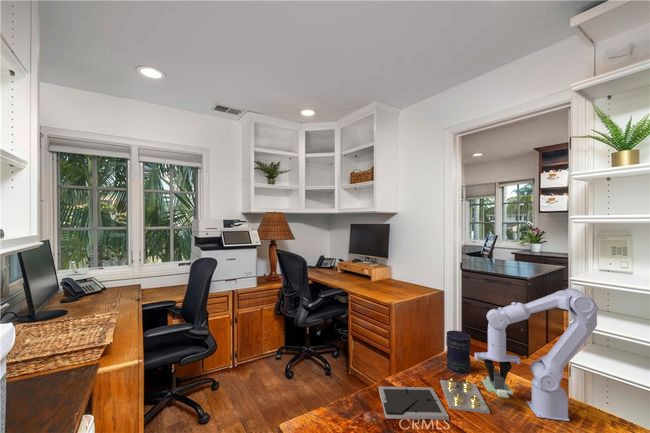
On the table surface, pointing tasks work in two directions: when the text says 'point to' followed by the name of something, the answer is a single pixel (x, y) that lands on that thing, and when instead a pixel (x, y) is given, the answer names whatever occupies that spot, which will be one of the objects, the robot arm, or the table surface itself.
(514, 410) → the table surface
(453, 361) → the storage jar
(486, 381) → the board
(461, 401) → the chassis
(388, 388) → the picture frame
